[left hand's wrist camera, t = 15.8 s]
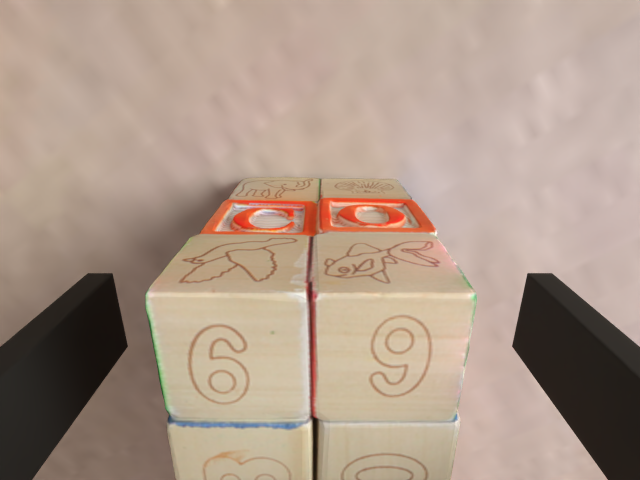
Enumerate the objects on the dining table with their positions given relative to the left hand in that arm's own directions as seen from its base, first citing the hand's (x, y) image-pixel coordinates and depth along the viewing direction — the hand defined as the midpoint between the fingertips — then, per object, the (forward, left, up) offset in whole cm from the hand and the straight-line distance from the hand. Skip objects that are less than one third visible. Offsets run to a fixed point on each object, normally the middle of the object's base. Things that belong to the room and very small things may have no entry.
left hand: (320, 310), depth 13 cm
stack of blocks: (+7, -1, -4) cm, 8 cm away
